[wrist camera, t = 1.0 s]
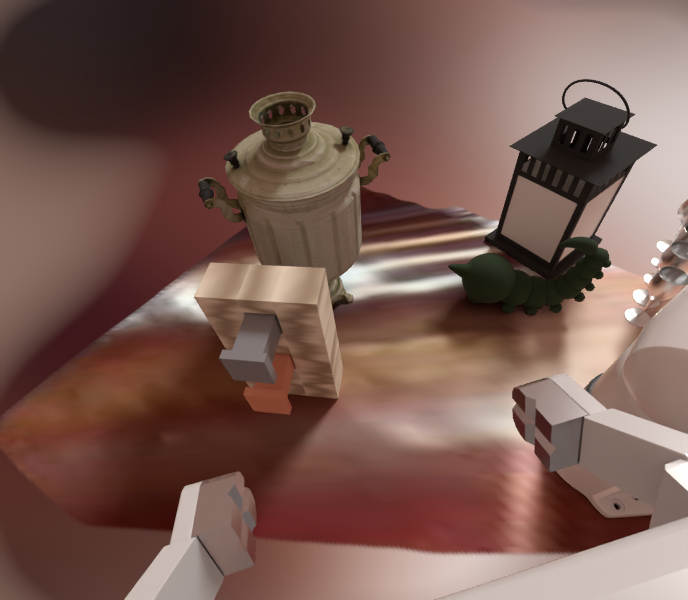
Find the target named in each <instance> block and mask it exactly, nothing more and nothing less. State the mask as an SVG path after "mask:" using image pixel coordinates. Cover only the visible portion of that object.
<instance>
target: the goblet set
mask: <svg viewBox="0 0 688 600" xmlns="http://www.w3.org/2000/svg"><path fill="white" fill-rule="evenodd" d="M678 218H679V220H680V222H681V225H680V227H679V232H678V234H677V235H676V236H675V238H674V240H673V241H670V240H661V241H659V242H658V243H657V247H658V249H659V250H660V251H661V252H663V253H662V254H661V256H660V257H655V258H653V259H652V264H653V265H654V266H655V267H656V268H658V271H657V272H656V273H655V274H654V273H648V274H646V275H644V281H645V282H646V283H647V284H648V290H646V289H639V290H636V291H635V292H634V293H633V298H634V300H635V301H636V302H637V303H638V304H640V305H642V306H644V307H645V308H644V309H643V310H640V309H636V308H631V309H628V310H626V312H625V318H626V319H627V321H628V322H629V323H631V324H632V325H634V326H637V327H644V326H645V324H646V323H647V322H648V321H649V320H650V319H651V317H650V316H649V315H648V314H647V313H646V312H645V311H646V310H647V309H648V308H655V307H658V306H659V305H660V303H661V301H664V300H669V299H672V298H673V297H674V296H675V295H676V294H677V293H678V292H680V290H681V289H682V287H683V286H684V285H685V284H686V283H687V282H688V200H687V201H685V202H684V203H683V204H682V205H681V206H680V208H679V210H678Z"/></svg>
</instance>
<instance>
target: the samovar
mask: <svg viewBox="0 0 688 600" xmlns="http://www.w3.org/2000/svg"><path fill="white" fill-rule="evenodd" d="M292 105H293V106H294V107H296V109H295V110H296V112H295V113H294V114H293V113H292V111H291V107H292ZM280 107H283V108H284V112H283V114H282V115H281V114H279V109H280ZM302 108H304V109H305V114H306V115H303V113H302ZM314 109H315V101H314V99H312V98H311V97H310V96H309V95H306V94H303V93H298V92H282V93H277V94H273V95H269V96H267V97H265V98H262V99H260V100H259V101H257V102H256V103H255V104H253V106H252V107H251V109H250V111H249V114H250V119H252V120H253V121H255V122H256V123H258V124H259V125H261V127H262V130H260V131H258V132H256V133H254V134H252V135H250V136H248V137H247V138H246V139H244V140H243V141H242V142H240V143H239V144H238V145H237V146H236V147H235V148H234V149H233V150H232V151H230V152H228V153H227V154H226V155H225V156H224V159H225V160H226V161H227V163H226V173H227V177H228V179H229V181H230V183H231V184H232V185H233V186H234V187H235V188H236V189H237V196H238V199H237V200H236V199H233V200H232V199H231V200H230V199H228V197H227V194H226V191H225V188H224V187H222V186H221V185H220V184H219V182H218V181H216V180H215V179H213V178H203V179H201V180H199V183H198V185H199V188H200V192H199V196H200V197H201V198H202V200H203V203H204V206H205V208H208V209H212V208H214V207H219V208H220V209H221V211H222V214H223V217H224V218H226V219H228V220H229V221H231V222H234V223H237V222H241V221H244V223H246V225H247V227H248V230H249V233H250V236H251V239H252V242H253V245H254V248H255V251H256V254H257V256H258V259H259V261H260V263H261V264H262V265H270V266H291V267H313V268H325V270H326V276H327V281H328V287H329V292H330V298H331V304H334V303H335V302H336V301H338V300H341V299H345V300H347V301H348V303H350V302H352V301H353V300H354V298H353V295H351V294H348V293H346V291H345V289H344V287H343V283H342V280H341V278H340V277H339V276H341V275H342V274H344V273H345V272H346V271H347V270H348V269H349V268H350V267H351V266H352V265H353V263H354V262H355V260H356V259H357V256H358V254H359V251H360V247H361V209H360V185H367V184H369V183H370V182H372V181H373V179H374V178H375V177H377V176H378V165H379V164H380V163H382V162H386V161H389V159H390V154H389V152H388V151H387V150H386V148H385V145H384V143H383V142H382V141H379V140H378V139H377V137H376V136H374V135H368V136H366V137H364V138H363V139H362V140H361V142H360V144H359V147H358V145H357V144H356V142H355V141H354V139H353V138H352V137H351V136H350V135H351V134H352V133H353V132H354V130H353V129H352V128H350V127H345V126H344V127H341V128H339V129H338V128H336V127H333V126H331V125H326V124H322V123H317V122H311V119H310V115H311V114H312V112H313V111H314ZM269 111H272V118H271V119H270V118H269V116H268V113H269ZM262 117H263V118H264V124H263V122H262ZM368 144H370V145H371V147H372V151H373V152H374V153H376V154H377V155H378V156H377V157H375V158H374V160H373V162H372V164H371V165H370V166H369V167H368V169H369V170H368V172H369V174H368V176H367V177H359V174H358V172H357V170H358V169H359V168H360V165H361V162H362V161H363V160H364V158H365V154H364V148H365V146H366V145H368ZM210 187H213V188H214V189H215V191H216V195H217V198H213V196H214V192H213V190H212V189H211V188H210ZM232 208H236V209H240V213H238V214H234V213H233V211H232Z"/></svg>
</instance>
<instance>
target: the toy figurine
mask: <svg viewBox="0 0 688 600" xmlns="http://www.w3.org/2000/svg"><path fill="white" fill-rule="evenodd" d="M559 248H574V249H578V250H580V251H581V252H582V253H584V254H586V255H585V257H582V258H580V259H579V260H578V261H577V263H576V265H575V266H574V267H571V268H570V269H569V270H568V271H567V272H566V274H563V275H560V276H559V277H558V278H556V279H547V280H545V279H543V278H541V277H537V276H529V275H528V274H526V273H525V272H522V271H520V270H514V268H513V266H512V265H511V263H510V262H509V261H508V260H507V259H505V258H504V257H502V256H500V255H497V254H492V253H488V254H482V255H479V256H476V257H475V258H473V259H472V260H470V261H469V262H468V263H467V264H452V265H449V266H448V267H449V268H450V269H451V270H452V271H454V272H455V273H456V274H458V275H459V276H460V277H461V278H462V283H463V286H464V289H465V291H466V292H467V298H468V300H469V301H470V302H471V303H474V304H475V303H479V302H481V303H496V302H499V301H502V305H501V307H502V310H503V311H505V312H506V313H510V312H513V311H514V310H515V307H516V305H521V304H522V305H523V306H525V307H526V313H527V314H528V315H530V316H532V315H535V314H536V313H537V308H539V307H542V306H544V305H548V306H550V310H551V311H552V312H554V313H558V312H560V311H561V309H562V306H561V304H560V303H561V302H563V300H564V299H571V298H574V299H575V301H578V302H581V301H583V300H584V299H585V296H584V294H583V293H581V291H582V289H584V288H585V289H586V290H587V291H592V290H593V289H594V288H595V287H594V285H593V283H591V282H592V278H596V279H601V278H602V277H603V272H601V270H602V267H605V268H607V267H610V265H611V261H610V260H609V254H608V252H607V250H605V249H603V248H598V244H597V243H596V241H594V240H593V239H590V238H588V237H573V238H570V239H567V240H565V241H563V242H562V243H560V244H559Z"/></svg>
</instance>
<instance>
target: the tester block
mask: <svg viewBox="0 0 688 600" xmlns="http://www.w3.org/2000/svg"><path fill="white" fill-rule="evenodd" d="M194 298H195V299H196V301H197V303H198V304H199V306H200V307H201V309H202V311H203V312H204V314H205V316H206V317H207V319H208V321H209V322H210V324H211V325H212V327H213V329H214V330H215V332H216V334H217V335H218V337H219V339H220V340H221V342H222V343H223V345H224V347H225V348H226V350H232V349H233V346H234V343H235V341H236V338H237V335H238V332H239V330H240V327H241V324H242V322H243V319H244V316H245V313H260V314H275V315H277V318H278V320H279V323H280V326H281V328H282V332H281V335H280V339H279V342H278V346H277V349H276V353H280V354H291V355H292V358H293V361H294V363H295V368H294V372H293V376H292V381H291V385H290V389H289V393H288V394H294V395H304V396H314V397H324V398H334V399H338V397H339V390H340V384H341V378H342V372H343V365H342V360H341V354H340V349H339V343H338V337H337V332H336V326H335V321H334V315H333V309H332V304H331V298H330V292H329V287H328V281H327V276H326V270H325V268H313V267H291V266H270V265H249V264H227V263H210V265H209V267H208V269H207V271H206V273H205V275H204V277H203V279H202V281H201V283H200V285H199V287H198V290H197V292H196V294H195V296H194ZM246 383H247V384H248V386H249V387H254V384H255V382H248V381H246Z"/></svg>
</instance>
